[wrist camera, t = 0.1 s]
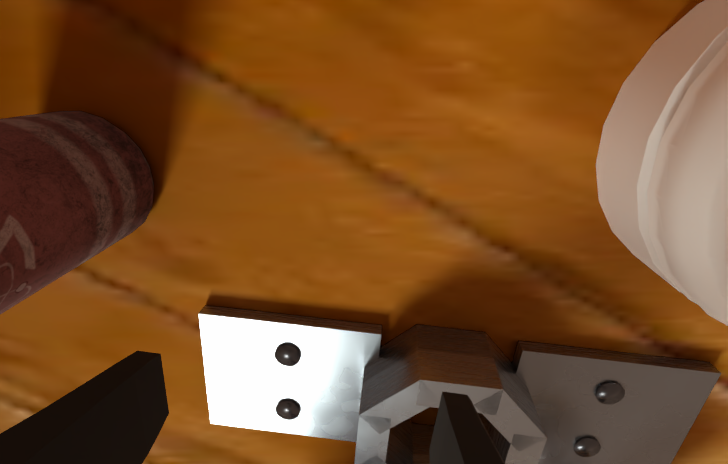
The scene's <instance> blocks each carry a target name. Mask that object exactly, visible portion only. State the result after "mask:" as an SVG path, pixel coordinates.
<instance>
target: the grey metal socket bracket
mask: <svg viewBox="0 0 728 464" xmlns="http://www.w3.org/2000/svg"><path fill="white" fill-rule="evenodd" d="M199 323H200V332H201V342H202V351H203V360H204V369H205V378H206V387H207V396H208V405H209V414H210V423H211V424H219V425H227V426H235V427H242V428H250V429H258V430H266V431H274V432H281V433H289V434H297V435H305V436H313V437H321V438H328V439H336V440H344V441H352V442H356V453H355V462H354V464H430V455H429V449H430V444H431V440H432V435H433V431H434V427H435V426H432V425H424V424H416V423H412V422H411V421H410V420H409V418H410V417H412V416H414V415H416V414H418V413H420V412H422V411H423V410H425V409H427V408H429V407H434V408H439V404H440V400H441V395H442V391H443V392H450V393H458V394H465V395H468V396H469V398H470V399H471V401H472V403H473V405H474V407H475V409H476V411H477V413H479V414H478V415H479V417H480V419H481V421H482V423H483V425H484V426H485V428H486V430H487V432H488V434H489V436H490V438H491V439H492V441H493V443H494V445H495V447H496V448H497V450H498V452H499V454H500V455H501V457H502V459H503V461H504V462H505V464H671V462H672V461H673V459H674V457H675V455H676V453H677V452H678V450H679V448H680V446H681V444H682V443H683V441H684V439H685V437H686V436H687V434H688V432H689V430H690V428H691V427H692V425H693V423H694V421H695V419H696V418H697V416H698V414H699V412H700V410H701V409H702V407H703V405H704V403H705V401H706V400H707V398H708V396H709V394H710V393H711V391H712V389H713V387H714V385H715V384H716V382H717V380H718V378H719V376H720V375H721V373H720V372H719V371H718V370H717V369H716V368H715V367H714V366H713V365H712V364H711V363H710V362H704V361H695V360H686V359H677V358H668V357H659V356H651V355H642V354H633V353H624V352H615V351H606V350H597V349H589V348H580V347H571V346H562V345H553V344H544V343H535V342H527V341H518V344H517V347H516V351H515V354H514V358H513V361H512V363H511V362H510V360H509V359H508V358H507V357H506V356H505V355H504V354H503V352H502V351H501V350H500V349H499V348H498V347H497V346H496V344H495V343H494V342H493V341H492V340H491V339H490V338H489V336H488V335H487V334H486V333H485V332H480V331H471V330H462V329H454V328H445V327H436V326H427V325H418V324H416V325H415V326H413V327H412V328H410V329H409V330H407V331H406V332H404V333H402V334H401V335H399V336H398V337H396V338H394V339H393V340H391V341H390V342H388V343H386V344H385V345H383V346H382V347H380V343H381V334H382V325H376V324H367V323H358V322H350V321H341V320H332V319H323V318H314V317H305V316H297V315H288V314H279V313H270V312H261V311H252V310H243V309H235V308H226V307H217V306H208V305H205V306H204V307H203V309H202V310H201V311H200V312H199Z"/></svg>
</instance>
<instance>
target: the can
mask: <svg viewBox="0 0 728 464" xmlns="http://www.w3.org/2000/svg"><path fill="white" fill-rule="evenodd" d="M153 192H154V182H153V178H152V174H151V169H150V166H149V164H148V162H147V160H146V158H145V157H144V155H143V153H142V151H141V149H140V148H139V147H138V146H137V145H136V144H135V143H134V142H133V141H132V140H131V138H130V137H129V136H128V135H127V134H126V133H124V132H123V131H122V130H120V129H119V128H117V127H115V126H114V125H112V124H111V123H109V122H108V121H106V120H105V119H103V118H101V117H98V116H95V115H92V114H89V113H86V112H83V111H57V112H50V113H42V114H35V115H27V116H20V117H12V118H5V119H0V314H2V313H3V312H5V311H6V310H8V309H10V308H11V307H13V306H14V305H16V304H18V303H19V302H21V301H22V300H24V299H26V298H27V297H29V296H31V295H32V294H34V293H35V292H37V291H39V290H40V289H42V288H43V287H45V286H47V285H48V284H50V283H51V282H53V281H55V280H56V279H58V278H59V277H61V276H63V275H64V274H66V273H68V272H69V271H71V270H72V269H74V268H76V267H77V266H79V265H80V264H82V263H84V262H85V261H87V260H88V259H90V258H92V257H93V256H95V255H97V254H98V253H100V252H101V251H103V250H105V249H106V248H108V247H109V246H111V245H113V244H114V243H116V242H117V241H119V240H121V239H122V238H124V237H125V236H127V235H129V234H130V233H132V232H133V231H134V230H136V229H137V228H138V227H139V226H140V225H142V224H143V223H144V222H145V220H146V218H147V216H148V214H149V212H150V210H151V208H152V203H153Z"/></svg>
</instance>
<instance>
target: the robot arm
mask: <svg viewBox="0 0 728 464" xmlns="http://www.w3.org/2000/svg"><path fill="white" fill-rule="evenodd" d="M168 414H169V410H168V403H167V396H166V389H165V382H164V375H163V368H162V361H161V354H158V353H150V352H143V351H136V352H135V353H133V354H131V355H129V356H128V357H126V358H124V359H123V360H121V361H120V362H118V363H116V364H115V365H113V366H111V367H110V368H108V369H107V370H105V371H104V372H102V373H100V374H99V375H97V376H96V377H94V378H92V379H91V380H89V381H88V382H86V383H84V384H83V385H81V386H80V387H78V388H76V389H75V390H73V391H72V392H70V393H68V394H67V395H65V396H63V397H62V398H60V399H59V400H57V401H55V402H54V403H52V404H51V405H49V406H47V407H46V408H44V409H42V410H41V411H39V412H37V413H36V414H34V415H32V416H30V417H29V418H27V419H25V420H23V421H22V422H20V423H18V424H17V425H15V426H13V427H11V428H10V429H8V430H6V431H4V432H3V433H1V434H0V464H142V463H143V461H144V459H145V458H146V456H147V455H148V453H149V451H150V449H151V447H152V445H153V444H154V442H155V440H156V438H157V436H158V434H159V432H160V430H161V428H162V426H163V424H164V422H165V420H166V418H167V416H168ZM429 455H430V464H505V462H504V461H503V459H502V457H501V455H500V454H499V452H498V450H497V448H496V447H495V445H494V443H493V441H492V439H491V438H490V436H489V434H488V432H487V430H486V428H485V426H484V425H483V423H482V421H481V419H480V417H479V415H478V413H477V411H476V409H475V407H474V405H473V403H472V401H471V399H470V398H469V396H468V395H465V394H458V393H450V392H443V391H442V395H441V400H440V404H439V409H438V413H437V418H436V422H435V427H434V431H433V435H432V440H431V444H430V449H429Z"/></svg>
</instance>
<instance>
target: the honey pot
mask: <svg viewBox="0 0 728 464" xmlns="http://www.w3.org/2000/svg"><path fill="white" fill-rule="evenodd" d="M596 175H597V186H598V197H599V203H600V205H601V207H602V210H603V212H604V214H605V217H606V219H607V221H608V223H609V226H610V228H611V230H612V232H613V233H614V234H615V235H616V236H617V237H618V238H619V240H620V241H621V242H622V243H623V244H624V245H625V246H626V247H627V248H628V249H629V251H630V252H631V253H632V254H633V255H634V256H636V257H637V258H638V259H639V260H641V261H642V262H643V263H644V264H645V265H647V266H648V267H649V268H650V269H652V270H653V271H654V272H655V273H657V274H658V275H659V276H660V277H662V278H663V279H664V280H665V281H667V282H668V283H669V284H670V285H671V286H673V287H674V288H675V289H676V290H678V291H679V292H681V293H683V294H684V295H685V296H686V297H687V298H688V299H689V300H691V301H692V302H694V303H696V304H698V305H699V306H700V307H701V308H702V309H703V310H704V311H705V312H706V314H707V315H709V316H711V317H713V318H715V319H716V320H718V321H720V322H722V323H723V324H725V325H727V326H728V0H704V1H702V2H701V3H699V4H697V5H696V6H695V7H694V8H693V9H692V10H690V11H689V12H688V13H687V14H686V15H685V16H684V17H682V18H681V19H680V20H679V21H678V22H677V23H676V24H674V25H673V26H672V27H671V28H670V29H669V30H668V31H666V32H665V33H664V34H663V35H662V36H661V37H660V38H658V39H657V40H656V41H655V42H654V43H653V45H652V46H651V47H650V49H649V50H648V51H647V53H646V54H645V55H644V57H643V58H642V59H641V60H640V62H639V63H638V64H637V66H636V67H635V68H634V70H633V71H632V72H631V74H630V75H629V76H628V78H627V79H626V80H625V81H624V83H623V85H622V87H621V89H620V91H619V93H618V95H617V97H616V100H615V102H614V104H613V106H612V108H611V110H610V112H609V115H608V117H607V119H606V121H605V123H604V125H603V130H602V136H601V141H600V146H599V151H598V156H597V161H596Z"/></svg>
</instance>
